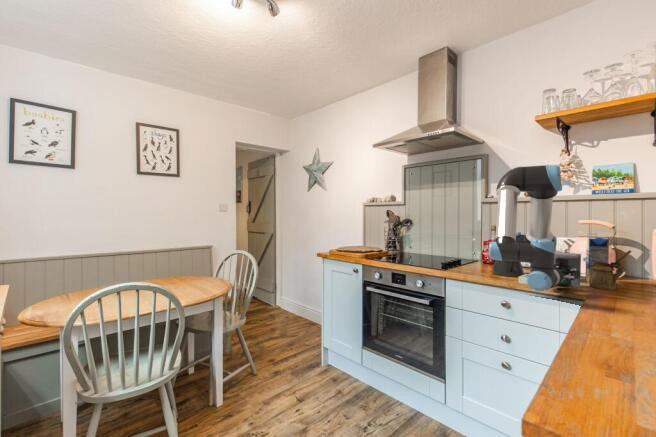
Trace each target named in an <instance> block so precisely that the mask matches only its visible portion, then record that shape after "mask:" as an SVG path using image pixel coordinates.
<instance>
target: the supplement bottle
mask: <svg viewBox="0 0 656 437" xmlns="http://www.w3.org/2000/svg"><path fill="white" fill-rule="evenodd" d="M555 263H556V264H554V267H556V268H558V269H559V270H563V271H570V270H571V269H572V268H571V266H569V265H568V264H569V260H568V259H562V258H556V259H555ZM554 286H555V287H560V288H572V287H571V280H570V279H569V278H566V279H563V280H562V281H561V282H560V283H558V284H556V285H554ZM554 286H553V287H554Z"/></svg>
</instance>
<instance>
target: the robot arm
mask: <svg viewBox="0 0 656 437" xmlns="http://www.w3.org/2000/svg"><path fill="white" fill-rule="evenodd" d="M495 190H496V192H495V193H496V196H497V197H498V199H497V212H496V224H495V238H494V241H490V242H489V244H488V257H489V258H490V259H491V260H493V261H494V263H493V265H492V268H491V273H492V274H494V275H498V276H503V277H512V278H513V277H514V278H516V277H517V278H519V276H522V275H525V271H524V267H523V266H522V263H527V264H530V266H529V267H530V269H529V270H530V271H529V273H528V274H529V275H528V276H527V283H528V285H527V286H528V287H530V289H532V290H534V291H537V292H538V291H539V292H543V291H546V290H549V289H550V288H552V287H554V285H556V284H558V283H560V282H561V281H562V280H563V279H566V278H569V279H570V280H574V279H577V278H580V279H581V274H582V273H581V272H580V271H576V268H573V269H571V270H570V271H563V270H559V269H558V268H556V267H554V253H555V252H556V248H557V237H556V236H555V235H554V234H553V233H552V232H551V226H552V212H553V203H554V202H553V201H554V200H553V199H554V197H556V196H557V194H559V192H561V191H563V184H562V175H561V167H560V165H558V164H546V165H529V166H528V165H527V166H517V167H514V168H512V169H510V170H508V171H507V172H506V173H505V174H503V176H501V178H500V179H499V181H498V182H497V185H496V189H495ZM521 192H523V193H524V192H525V193H526V194H527V196H528V197H529V198H530V206H529V229H528V231H526V233H525V234H522V233H521V231H517V219H518V217H517V216H518V199H519V198H518V197H519V196H520V195H521Z"/></svg>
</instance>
